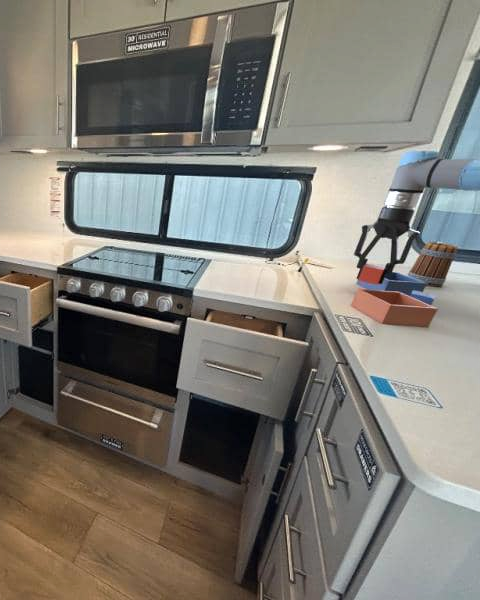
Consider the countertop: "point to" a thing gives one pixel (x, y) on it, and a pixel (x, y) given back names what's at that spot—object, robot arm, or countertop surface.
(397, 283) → the blue bin
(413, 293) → the blue block
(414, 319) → the terracotta bin
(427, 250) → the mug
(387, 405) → the countertop surface
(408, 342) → the countertop surface
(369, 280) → the red block
